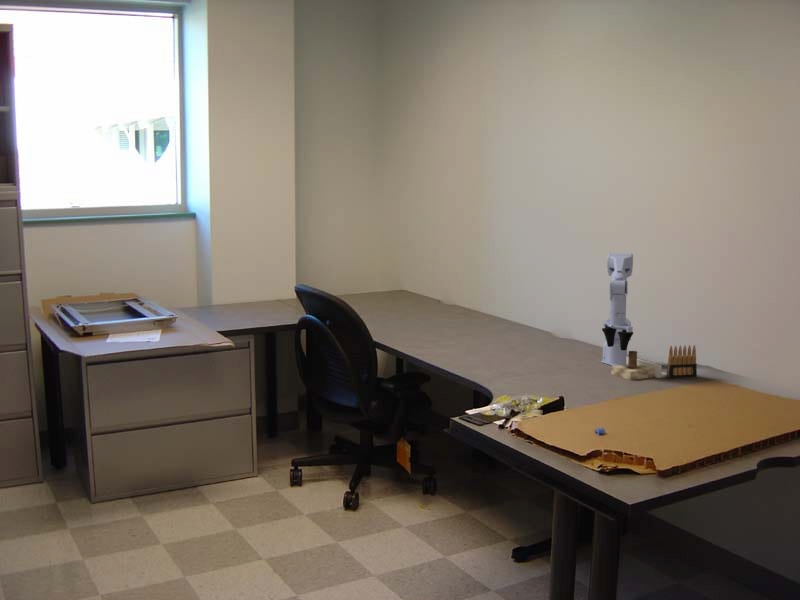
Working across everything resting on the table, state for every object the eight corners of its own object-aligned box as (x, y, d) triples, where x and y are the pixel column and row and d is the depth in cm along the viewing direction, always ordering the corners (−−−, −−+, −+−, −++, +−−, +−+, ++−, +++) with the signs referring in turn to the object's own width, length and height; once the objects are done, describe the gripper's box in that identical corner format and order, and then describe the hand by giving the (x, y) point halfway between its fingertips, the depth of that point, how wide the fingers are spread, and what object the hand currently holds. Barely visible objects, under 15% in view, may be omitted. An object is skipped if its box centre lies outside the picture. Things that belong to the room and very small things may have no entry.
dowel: (626, 374, 318) (627, 351, 317) (633, 374, 319) (633, 350, 318) (631, 376, 315) (631, 352, 314) (638, 375, 316) (638, 352, 315)
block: (611, 373, 320) (611, 366, 319) (634, 370, 324) (635, 363, 324) (630, 380, 310) (630, 372, 310) (654, 376, 314) (654, 368, 314)
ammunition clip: (668, 378, 312) (669, 346, 310) (666, 377, 314) (667, 345, 312) (696, 377, 313) (697, 345, 311) (694, 376, 315) (695, 344, 313)
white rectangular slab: (626, 368, 329) (626, 356, 328) (637, 366, 331) (637, 355, 331) (658, 378, 313) (658, 365, 312) (670, 376, 315) (670, 364, 314)
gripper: (597, 310, 323) (596, 345, 325) (621, 316, 310) (621, 352, 312) (612, 309, 326) (611, 344, 328) (637, 314, 313) (636, 351, 315)
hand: (617, 348), depth 320 cm, fingers open, 7 cm apart
